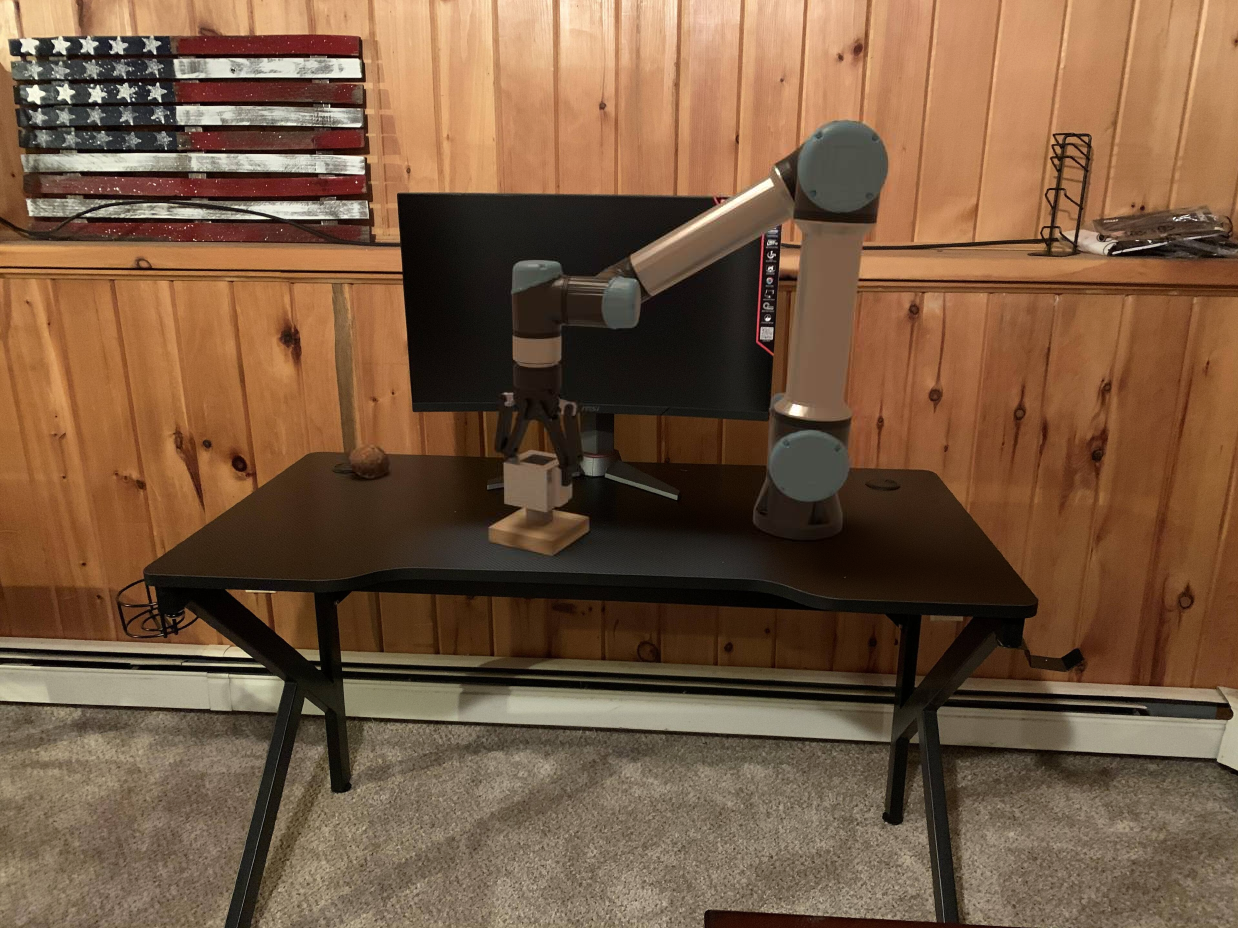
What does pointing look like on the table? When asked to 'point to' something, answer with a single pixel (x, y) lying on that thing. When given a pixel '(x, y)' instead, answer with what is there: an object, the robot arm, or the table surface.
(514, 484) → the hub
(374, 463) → the brown round lump
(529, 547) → the block
